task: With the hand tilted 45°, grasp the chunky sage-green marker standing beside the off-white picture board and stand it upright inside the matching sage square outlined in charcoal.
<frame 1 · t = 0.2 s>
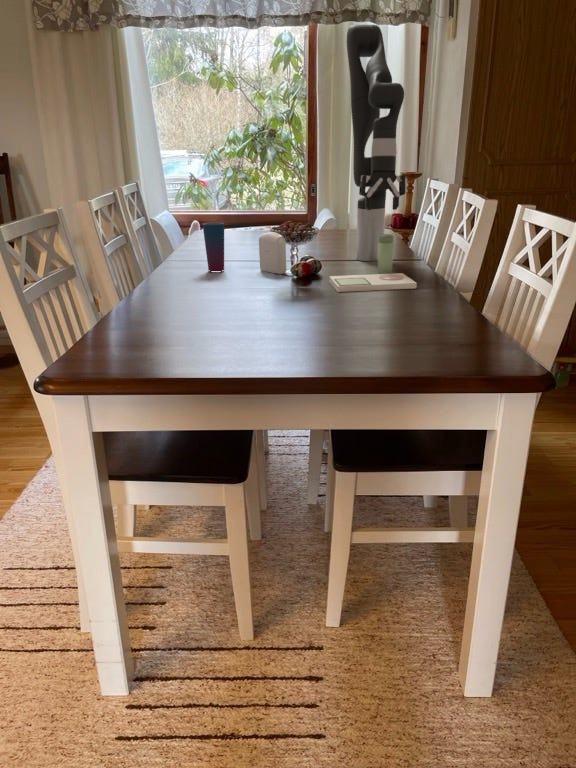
hand: (381, 209, 191), 18 cm above the table, tool pointing down, fingers open, 8 cm apart
cup: (216, 271, 196), on the table
marker: (384, 275, 184), on the table
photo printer: (273, 272, 193), on the table
picture board: (371, 284, 172), on the table
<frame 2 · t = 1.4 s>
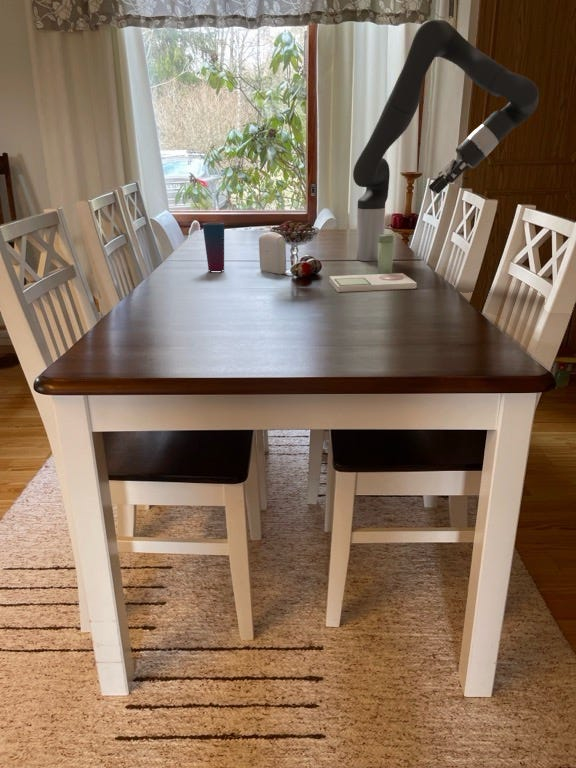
hand: (432, 190, 174), 25 cm above the table, tool tilted 45°, fingers open, 8 cm apart
nothing on the table moved.
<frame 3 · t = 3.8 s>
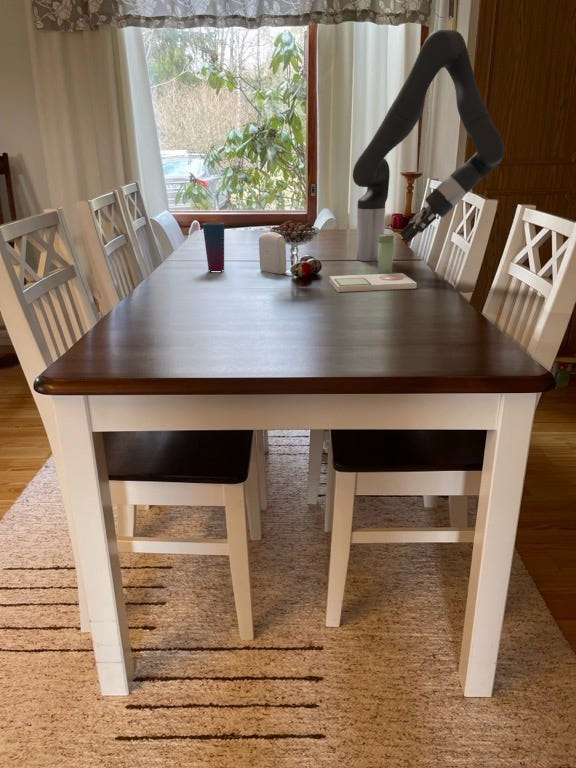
hand: (403, 237, 180), 11 cm above the table, tool tilted 45°, fingers open, 8 cm apart
nothing on the table moved.
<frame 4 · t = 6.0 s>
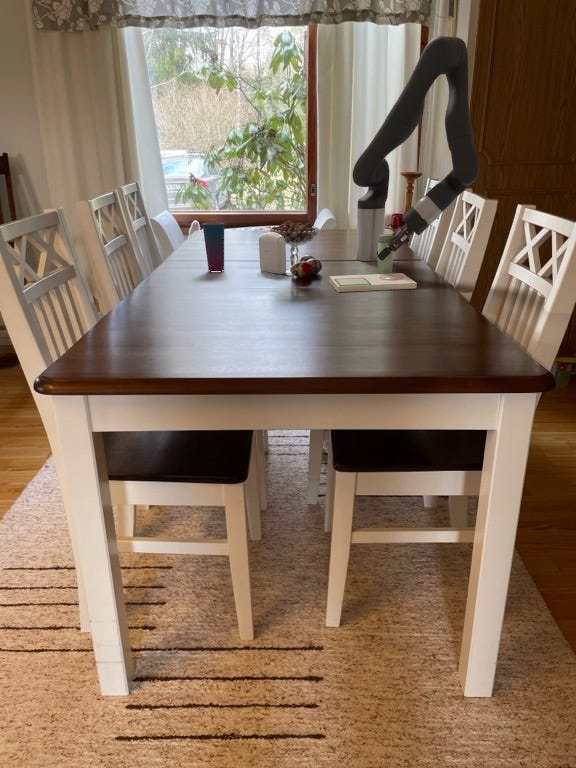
hand: (379, 257, 182), 6 cm above the table, tool tilted 45°, fingers closed on marker, 4 cm apart
marker: (384, 275, 184), on the table, touching gripper
everything else where it was.
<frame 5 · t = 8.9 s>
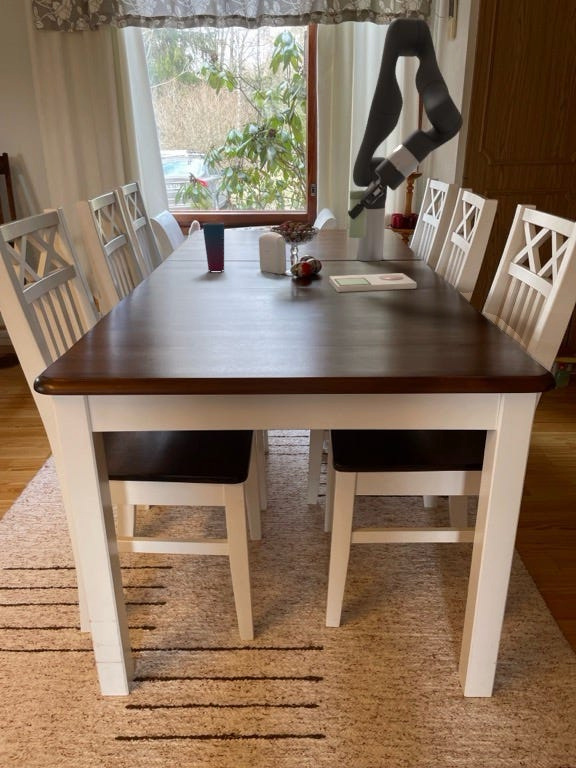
hand: (350, 215, 163), 19 cm above the table, tool tilted 45°, fingers closed on marker, 4 cm apart
marker: (357, 236, 165), point 14 cm above the table, touching gripper
everything else where it was.
when the fingers open (9 cm above the table, at t = 11.9 s): marker drops 1 cm, resting on picture board.
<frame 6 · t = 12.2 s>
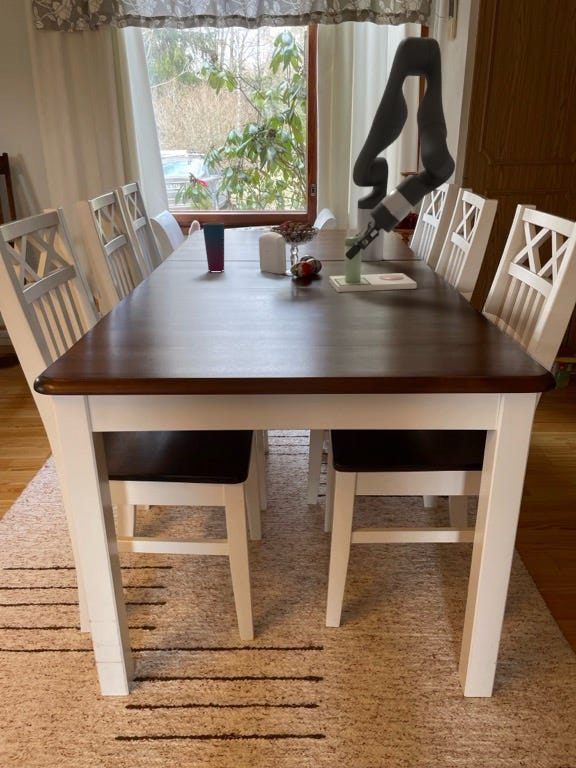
hand: (347, 254, 167), 9 cm above the table, tool tilted 45°, fingers open, 7 cm apart
marker: (352, 281, 169), point 2 cm above the table, touching picture board
everything else where it was.
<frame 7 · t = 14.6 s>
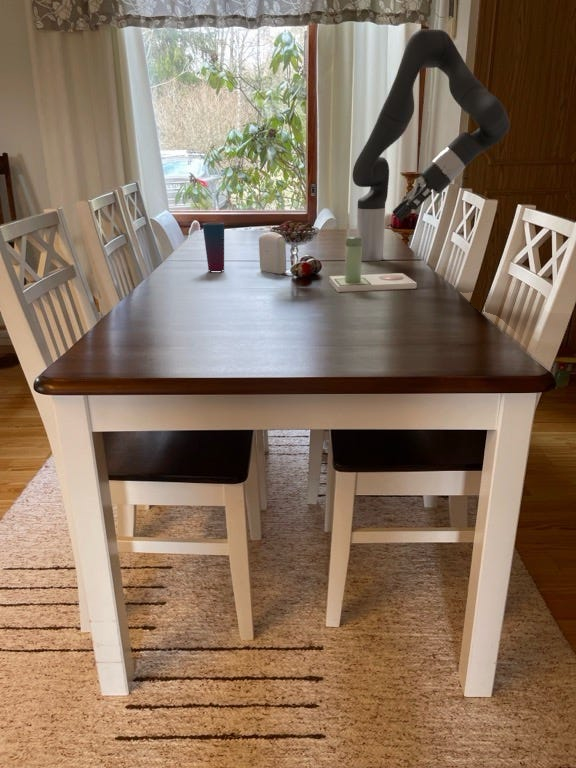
hand: (396, 216, 162), 19 cm above the table, tool tilted 45°, fingers open, 8 cm apart
nothing on the table moved.
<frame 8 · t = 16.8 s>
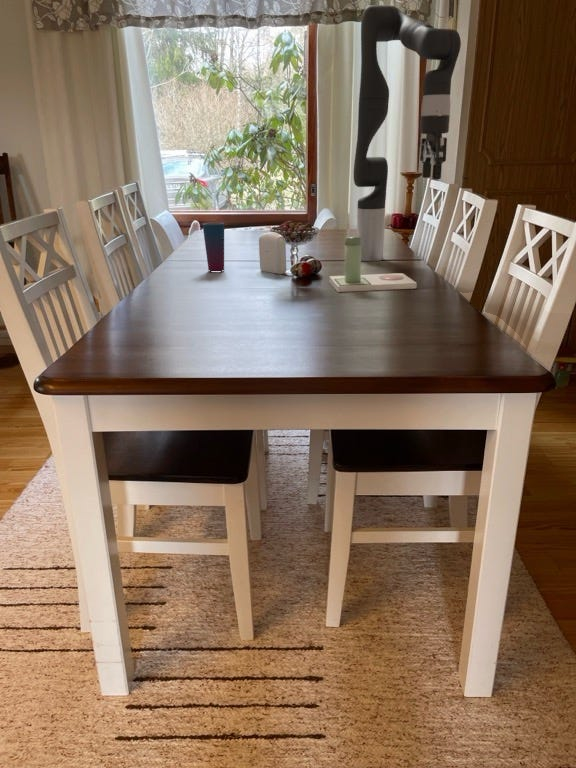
hand: (431, 178, 167), 28 cm above the table, tool pointing down, fingers open, 8 cm apart
nothing on the table moved.
at the end: marker 0.2 cm from the target spot on the picture board, point 1.7 cm above the picture board's base; marker tilted 2°; the gripper is holding nothing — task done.
